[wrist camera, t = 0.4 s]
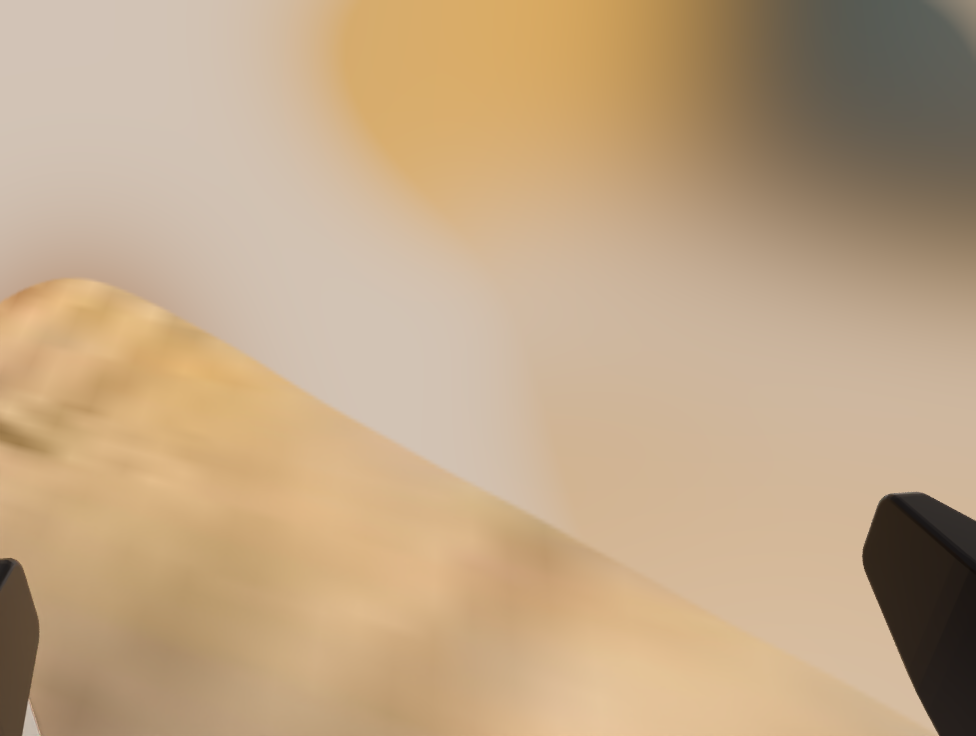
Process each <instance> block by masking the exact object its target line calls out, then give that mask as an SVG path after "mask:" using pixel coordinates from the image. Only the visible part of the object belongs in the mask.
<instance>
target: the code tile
mask: <svg viewBox="0 0 976 736" xmlns="http://www.w3.org/2000/svg"><path fill="white" fill-rule="evenodd" d="M22 736H41V733H40V730H39V727H38V724H37V721H36V717H35V714H34V711H33V708H32V705H31V702H30V699H29V700H28V705H27V711H26V717H25V722H24V728H23V733H22Z"/></svg>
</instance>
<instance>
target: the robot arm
mask: <svg viewBox="0 0 976 736" xmlns="http://www.w3.org/2000/svg"><path fill="white" fill-rule="evenodd" d="M862 557H863V565H864V569H865V572H866V575H867V577H868V580H869V582H870V585H871V587H872V589H873V592H874V594H875V597H876V599H877V601H878V604H879V606H880V608H881V611H882V613H883V616H884V618H885V620H886V623H887V625H888V627H889V630H890V632H891V635H892V637H893V640H894V642H895V644H896V646H897V649H898V652H899V654H900V656H901V659H902V661H903V663H904V666H905V668H906V671H907V673H908V675H909V677H910V679H911V682H912V684H913V686H914V688H915V690H916V692H917V695H918V696H919V699H920V700H921V702H922V704H923V706H924V708H925V710H926V712H927V714H928V716H929V718H930V719H931V721H932V723H933V725H934V727H935V729H936V731H937V733H938V734H939V736H976V521H975V520H973V519H971V518H969V517H967V516H966V515H963V514H962V513H960V512H958V511H956V510H954V509H952V508H951V507H949V506H947V505H945V504H943V503H941V502H940V501H938V500H936V499H934V498H932V497H930V496H928V495H926V494H924V493H920V492H907V493H894V494H888V495H886V496H884V497H883V498H882V499H881V500H880V501H879V504H878V506H877V509H876V512H875V515H874V518H873V520H872V523H871V527H870V530H869V532H868V535H867V538H866V541H865V544H864V547H863V555H862ZM38 643H39V620H38V616H37V612H36V609H35V606H34V603H33V599H32V596H31V593H30V589H29V586H28V583H27V580H26V576H25V573H24V570H23V568H22V566H21V564H20V563H19V562H18V561H17V560H15V559H12V558H3V559H0V736H22V733H23V728H24V722H25V717H26V711H27V705H28V700H29V694H30V688H31V683H32V677H33V671H34V666H35V660H36V654H37V649H38Z"/></svg>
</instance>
